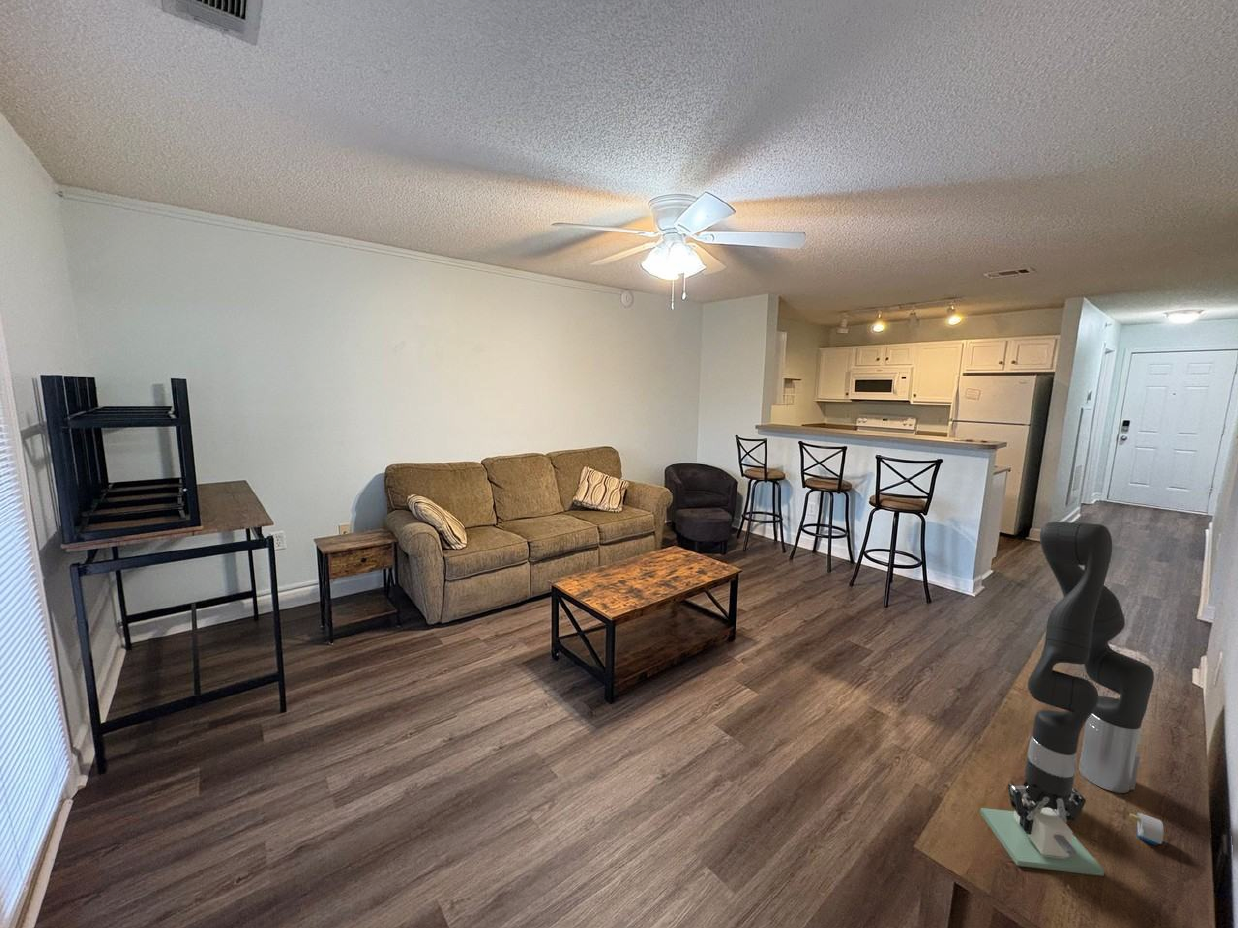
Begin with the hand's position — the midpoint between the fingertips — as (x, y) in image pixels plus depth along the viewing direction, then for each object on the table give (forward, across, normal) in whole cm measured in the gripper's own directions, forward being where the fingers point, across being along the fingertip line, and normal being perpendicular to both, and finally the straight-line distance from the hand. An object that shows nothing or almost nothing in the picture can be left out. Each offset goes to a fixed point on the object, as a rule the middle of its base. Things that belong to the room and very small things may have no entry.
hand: (1040, 832), depth 106 cm
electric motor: (+3, -24, -5) cm, 25 cm away
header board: (+3, 0, 0) cm, 3 cm away
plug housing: (+1, 0, +2) cm, 2 cm away
